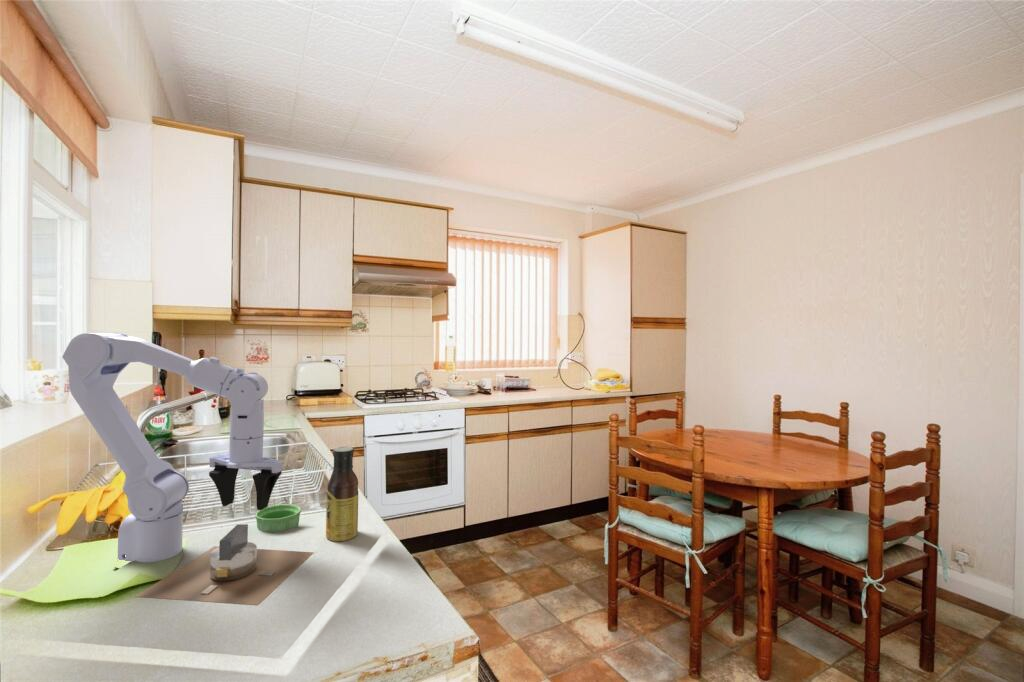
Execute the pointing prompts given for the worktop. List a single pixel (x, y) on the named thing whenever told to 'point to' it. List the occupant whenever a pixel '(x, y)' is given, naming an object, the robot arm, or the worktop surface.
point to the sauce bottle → (342, 497)
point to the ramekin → (278, 517)
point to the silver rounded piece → (233, 555)
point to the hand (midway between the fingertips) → (245, 506)
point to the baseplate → (247, 590)
